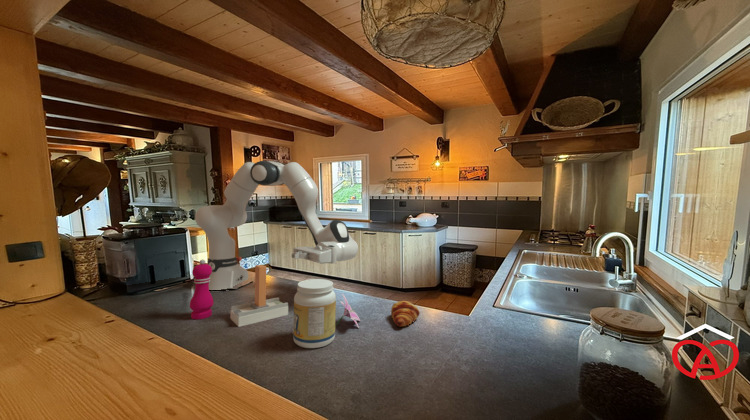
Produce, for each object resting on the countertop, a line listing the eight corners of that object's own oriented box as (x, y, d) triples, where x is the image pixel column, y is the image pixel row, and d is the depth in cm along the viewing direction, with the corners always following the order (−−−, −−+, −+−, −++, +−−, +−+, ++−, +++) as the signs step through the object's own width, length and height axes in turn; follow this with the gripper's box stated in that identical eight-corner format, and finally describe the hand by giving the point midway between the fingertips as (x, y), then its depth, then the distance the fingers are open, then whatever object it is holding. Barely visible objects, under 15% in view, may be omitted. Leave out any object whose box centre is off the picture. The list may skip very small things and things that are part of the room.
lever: (262, 303, 106) (263, 264, 106) (269, 308, 102) (269, 266, 102) (251, 306, 104) (252, 265, 103) (257, 310, 99) (258, 268, 99)
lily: (346, 339, 89) (362, 311, 90) (318, 318, 94) (334, 291, 95) (360, 336, 100) (374, 311, 101) (334, 317, 104) (348, 293, 106)
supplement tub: (290, 334, 89) (291, 279, 89) (329, 328, 94) (330, 276, 94) (296, 353, 78) (297, 290, 78) (339, 345, 83) (341, 286, 82)
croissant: (400, 316, 115) (391, 298, 116) (423, 307, 113) (414, 288, 114) (392, 339, 94) (381, 316, 95) (419, 327, 92) (408, 304, 93)
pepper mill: (194, 321, 97) (195, 262, 97) (185, 316, 101) (186, 259, 101) (217, 315, 103) (217, 259, 102) (207, 311, 107) (208, 257, 107)
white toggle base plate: (277, 307, 112) (277, 297, 112) (288, 314, 105) (288, 303, 105) (230, 318, 100) (230, 306, 100) (238, 326, 94) (238, 314, 94)
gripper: (311, 242, 128) (281, 244, 118) (338, 247, 112) (306, 250, 103) (311, 256, 128) (281, 260, 118) (338, 263, 112) (306, 268, 103)
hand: (293, 256), depth 111 cm, fingers closed
